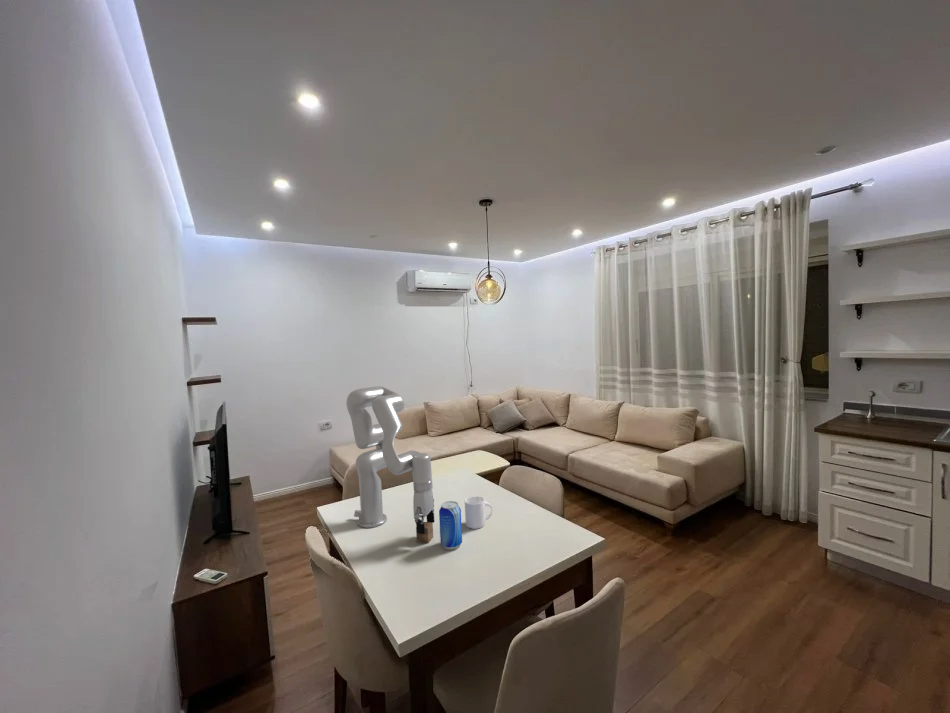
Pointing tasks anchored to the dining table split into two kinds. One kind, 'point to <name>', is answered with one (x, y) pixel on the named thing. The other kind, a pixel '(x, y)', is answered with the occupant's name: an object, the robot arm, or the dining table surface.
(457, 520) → the beer can
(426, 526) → the walnut block
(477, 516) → the mug
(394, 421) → the robot arm
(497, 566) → the dining table surface
